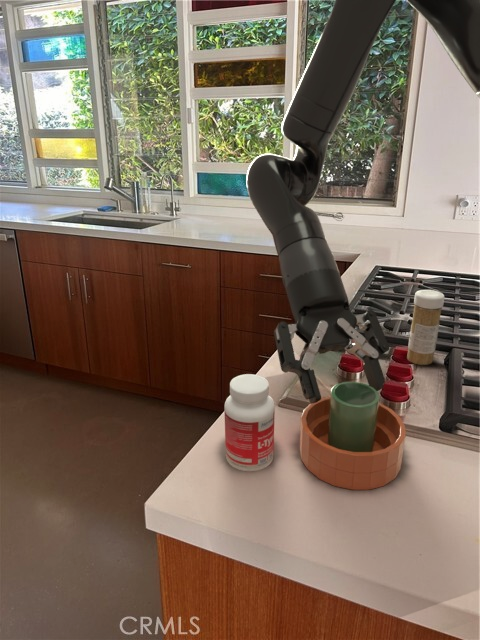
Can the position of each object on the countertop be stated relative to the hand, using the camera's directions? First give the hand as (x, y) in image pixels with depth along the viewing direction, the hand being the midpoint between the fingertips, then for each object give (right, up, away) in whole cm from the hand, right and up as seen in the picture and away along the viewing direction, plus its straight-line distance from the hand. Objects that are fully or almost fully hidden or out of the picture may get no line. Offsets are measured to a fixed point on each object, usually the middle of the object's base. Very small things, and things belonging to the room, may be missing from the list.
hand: (347, 395), depth 57 cm
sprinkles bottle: (+18, +1, +24) cm, 30 cm away
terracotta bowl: (+1, -8, +2) cm, 8 cm away
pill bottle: (-12, -9, +2) cm, 15 cm away
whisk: (+15, +58, +150) cm, 161 cm away
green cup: (+1, -8, +2) cm, 8 cm away
